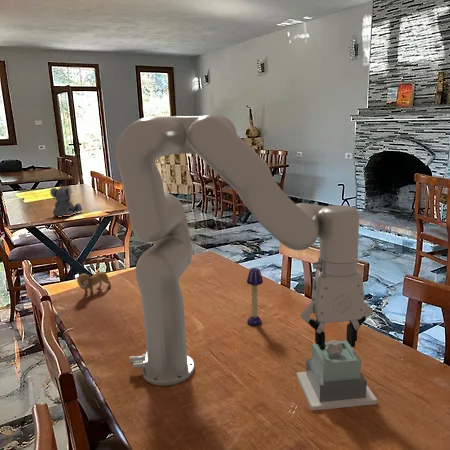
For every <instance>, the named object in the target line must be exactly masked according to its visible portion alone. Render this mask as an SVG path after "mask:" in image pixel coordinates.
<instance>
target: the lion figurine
mask: <svg viewBox="0 0 450 450" xmlns="http://www.w3.org/2000/svg"><path fill="white" fill-rule="evenodd" d="M76 279H77V284H78V286H79V287H80V288H81V289H82V290H84V294H83V296H88V295H89V296H90V297H93V296H94V295H95V294H94V286H96V285H97V284H99V285H98V286H97V287H96V290H101V287H103V283H105V284H107V285H108V286H107V288H108V289H111V288H112V285H111V284H112V283H111V281H110V279H109V276H108V274H107V273H106V272H104V271H100V272H97V273H95V274H94V275H90V274H87V273H80V274H79V275H78V277H77V278H76ZM89 291H90V292H89ZM89 293H90V294H89Z"/></svg>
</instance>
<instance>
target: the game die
mask: <svg viewBox="0 0 450 450" xmlns="http://www.w3.org/2000/svg"><path fill="white" fill-rule="evenodd" d="M325 350H326V351H327V353H328V354H329V355H330V356H331V357H339V356H340V354H341V353H342V350H343V347H342V346H341V344H340V343H339V342H338V340H336V339H333V340H329V341H328V344H327V346H326V348H325Z"/></svg>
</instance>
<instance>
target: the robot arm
mask: <svg viewBox="0 0 450 450" xmlns="http://www.w3.org/2000/svg"><path fill="white" fill-rule="evenodd" d="M115 150H116V152H115V156H116V163H117V166H118V167H117V168H118V171H119V174H120V178H121V182H122V187H123V193H124V197H125V202H126V206H127V212H128V215H129V221H130V226H131V229H132V232H133V234H134V235H135V237H136V238H137V239H138V240H140V241H141V242H143V243H154V244H153V245H152V246H150V247H149V248H148V249H147V250H145V251H144V252H143V253H142V254H141V255H140V256H139V258H138V259H137V262H136V266H135V272H134V273H135V278H136V282H137V287H138V289H139V294H140V298H141V307H142V316H143V326H144V335H145V346H146V353H142V355H133V356H132V355H131V356H129V358H128V364H129V365H130V366H131V365H132V368H133V369H134V370H135V369H136V370H137V369H141V373H142V374H141V375H142V378H143V379H144V380H145V381H146V382H147V383H150V384H152V385H154V386H155V385H156V386H163V387H164V386H165V387H166V386H172V385H177V384H180V383H182V382H184V381H186V380H187V379H189V377H191V376H192V375H193V373H194V371H195V363H194V360H193V358H192V357H190V356H188V351H187V350H188V348H187V334H186V319H185V318H186V317H185V308H184V307H185V306H184V304H185V303H184V298H183V292H182V290H181V287H180V286H181V285H180V280H179V279H180V277H181V276H182V275H183V273H184V272H185V271H186V270H187V269H188V268H189V266H190V264H191V263H192V260H193V245H192V241H191V235H190V230H189V225H188V221H187V219H188V218H187V214H186V211H185V209H184V206H183V204H182V202H181V201H180V200H179V199H178V197H177V196H175V195H173V194H171V193H168V192H165V190H164V184H163V179H162V176H161V173H160V171H159V168H158V167H157V163H156V161H157V159H159V158H162V157H167V156H171V155H177V154H178V155H183V154H186V155H193V154H194V155H197V157H199V158H200V159H201V160H202V161H203V162H205V164H207V165H208V166H209V167H210V168H211V169H212V170H213V171H214V172H215V173H216V174H217V175H218V176H219V177H220V178H222V179H223V180H224V181H225V182H226V183H227V184H228V185H229V186H230V187H231V188H232V189H233V190H234V191H235V192H236V194H237V195H238V196H239V198H240V200H241V202H243V204H244V205H245V206H246V208H247V209H248V210H249V212H250V213H251V215H252V216H253V217H254V218H255V219H256V221H257V222H258V223H259V224H260V225H261V226H262V227H263V228H264V229H265V230H266V231H267V232H269V233H270V235H272V236H273V237H274V238H275V240H276V241H278V242H279V243H280V244H282V245H283V246H284V247H286V248H288V249H290V250H293V251H303V250H307V249H309V248H310V247H312V246H313V245H314V244H315V242H316V241H317V239H319V257H318V260H317V261H316V262H315V261H314V262H312V269H313V270H316V272H315V277H314V279H313V280H314V281H313V285H312V286H313V287H312V291H311V292H312V293H311V302H310V303H309V304H308V305H307V306H306V307H305V308H304V310H302V311H301V312H300V317H301V319H302V320H303V321H304V322H305V323H307V324H308V325H309V326H310V327H311V328H313V329H314V332H315V333H314V343H316V344H317V345H319V347H320V349H321V350H324V349H325V342H326V333H325V332H324V329H325V326H326V324H329V323H342V322H349V323H347V325H346V337H345V338H346V340H345V341H347V342H348V343H349V344H350V346H351V347H352V348H355V347H356V342H357V341H358V330H360V328H361V326H362V325H363V324H364V323H365V322H366V320H367V318H369V317H370V316H371V315H372V314H373V313H374V310H373V309H372V308H371V307H370V306H369V305H368V304H367V303H366V302H365V291H364V289H365V288H364V280H363V276H362V273H361V271H359V270H358V260H359V259H358V256H359V237H360V236H359V233H360V232H359V231H360V212H359V210H358V209H357V208H355V207H353V206H350V205H340V204H339V205H337V204H335V205H328V206H327V205H319V204H314V203H313V204H312V203H307V202H300V203H295V202H294V201H293V200H292V199H291V198H290V197H289V196H288V195H287V194H286V193H285V192H284V191H283V190H282V188H280V186H279V184H278V183H277V182H276V180H275V179H274V177H273V174H272V172H271V169H270V167H269V165H268V164H267V162H266V161H265V159H264V158H263V157H262V156H260V155H259V154H258V153H257V152H256V151H255V150H254V149H253V148H252V147H251V146H250V145H248V144H247V143H246V141H244V139H242V137H240V136H239V135H238V134H237V129H236V126H235V123H233V122H232V121H231V120H230V119H229V118H228V117H226V116H224V115H220V114H206V115H198V116H197V115H195V116H194V115H192V116H191V115H187V116H184V115H183V116H181V115H179V116H178V115H177V116H176V115H173V116H169V115H166V116H165V115H164V116H159V115H155V116H153V115H151V116H146V117H142V118H139V119H137V120H134V121H133V122H132V123H130V124H129V125H128V126H127V127H125V129H124V130H123V131H122V133H121V134H120V136H119V138H118V140H117V143H116V149H115ZM312 314H314V316H315V319H314V318H313V317H311V316H312Z"/></svg>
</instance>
